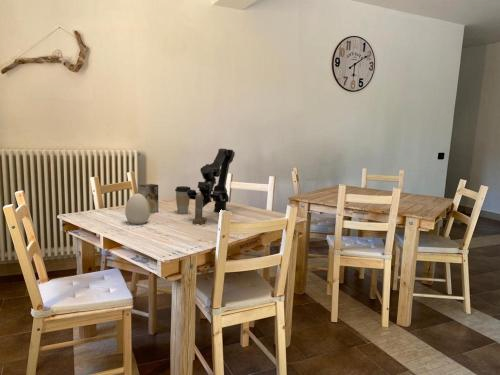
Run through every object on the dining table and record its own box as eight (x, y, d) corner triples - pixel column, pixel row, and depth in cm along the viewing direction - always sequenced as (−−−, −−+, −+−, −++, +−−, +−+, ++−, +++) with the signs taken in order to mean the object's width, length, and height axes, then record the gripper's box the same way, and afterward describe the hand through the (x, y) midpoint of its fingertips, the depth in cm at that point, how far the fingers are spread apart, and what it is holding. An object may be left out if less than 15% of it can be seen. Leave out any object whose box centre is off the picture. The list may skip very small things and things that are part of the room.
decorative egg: (155, 222, 197) (155, 193, 195) (137, 226, 187) (137, 196, 185) (138, 218, 203) (138, 190, 201) (120, 222, 193) (119, 193, 191)
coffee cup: (171, 212, 220) (171, 187, 218) (181, 210, 228) (181, 185, 226) (184, 215, 216) (184, 189, 213) (194, 212, 224) (194, 187, 222)
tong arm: (197, 216, 199) (197, 194, 197) (202, 217, 198) (203, 194, 196) (195, 217, 198) (196, 194, 196) (201, 217, 197) (202, 195, 195)
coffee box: (151, 210, 224) (151, 183, 222) (158, 212, 221) (158, 184, 218) (138, 212, 217) (138, 184, 215) (145, 214, 213) (145, 186, 211)
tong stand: (197, 221, 203) (198, 194, 201) (206, 222, 202) (207, 194, 200) (192, 224, 196) (193, 196, 194) (201, 225, 195) (202, 196, 193)
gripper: (188, 174, 203) (179, 198, 194) (221, 177, 198) (213, 201, 189) (194, 187, 212) (185, 210, 203) (225, 190, 207) (218, 213, 198)
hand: (200, 208), depth 198 cm, fingers closed, pressing on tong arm
